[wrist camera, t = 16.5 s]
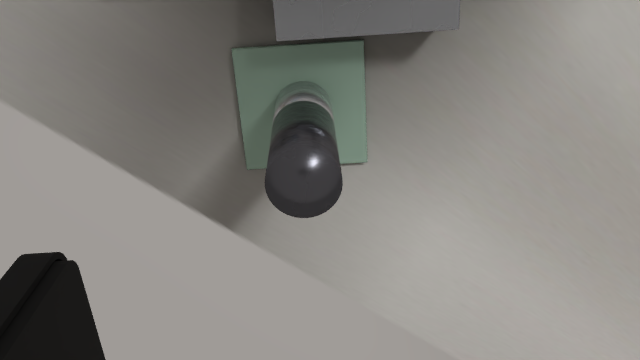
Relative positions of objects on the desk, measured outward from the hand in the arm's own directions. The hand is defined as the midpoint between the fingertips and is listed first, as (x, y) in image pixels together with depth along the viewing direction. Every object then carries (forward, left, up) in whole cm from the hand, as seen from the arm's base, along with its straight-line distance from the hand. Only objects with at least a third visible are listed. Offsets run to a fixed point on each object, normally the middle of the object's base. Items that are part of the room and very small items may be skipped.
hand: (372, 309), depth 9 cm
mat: (+2, +6, -28) cm, 29 cm away
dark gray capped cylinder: (+2, +6, -28) cm, 29 cm away
